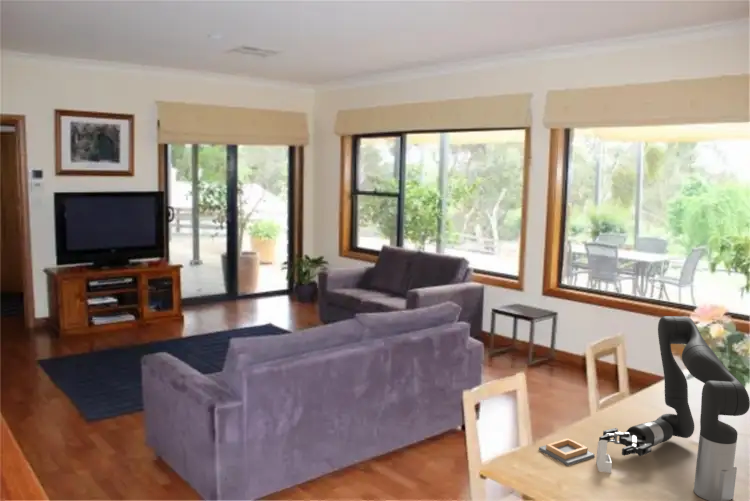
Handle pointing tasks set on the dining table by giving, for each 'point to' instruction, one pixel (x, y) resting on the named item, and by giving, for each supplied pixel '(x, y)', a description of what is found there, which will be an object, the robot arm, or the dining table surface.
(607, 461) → the white angled block
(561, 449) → the plate
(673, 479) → the dining table surface
